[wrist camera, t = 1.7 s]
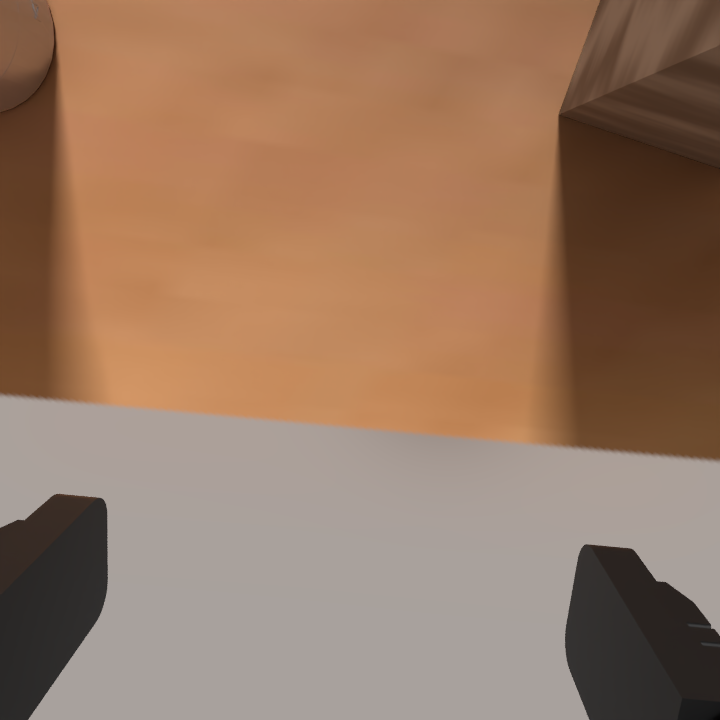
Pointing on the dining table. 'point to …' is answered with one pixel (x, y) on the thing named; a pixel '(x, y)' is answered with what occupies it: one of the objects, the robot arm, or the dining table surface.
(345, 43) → the dining table surface
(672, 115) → the walnut pillar
